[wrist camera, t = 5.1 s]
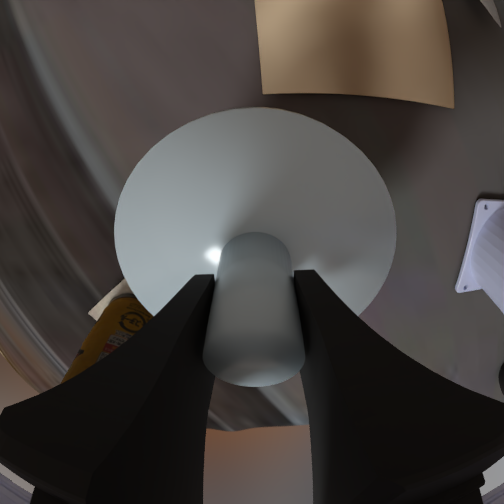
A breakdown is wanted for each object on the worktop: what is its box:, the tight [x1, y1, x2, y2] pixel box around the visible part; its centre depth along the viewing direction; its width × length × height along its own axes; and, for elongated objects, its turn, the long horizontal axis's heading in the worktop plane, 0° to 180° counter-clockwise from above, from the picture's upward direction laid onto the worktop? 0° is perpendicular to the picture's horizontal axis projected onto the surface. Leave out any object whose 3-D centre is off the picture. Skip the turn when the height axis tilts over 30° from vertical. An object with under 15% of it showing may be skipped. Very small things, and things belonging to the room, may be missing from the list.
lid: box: [114, 107, 397, 387], centre depth 8 cm, size 10×10×5 cm
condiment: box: [61, 279, 154, 384], centre depth 16 cm, size 7×8×12 cm
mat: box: [255, 0, 454, 109], centre depth 11 cm, size 12×12×1 cm
